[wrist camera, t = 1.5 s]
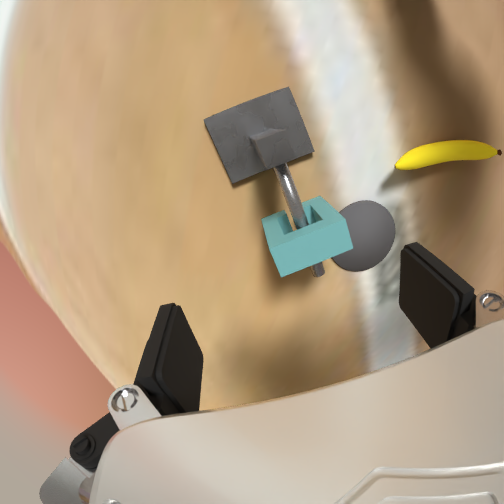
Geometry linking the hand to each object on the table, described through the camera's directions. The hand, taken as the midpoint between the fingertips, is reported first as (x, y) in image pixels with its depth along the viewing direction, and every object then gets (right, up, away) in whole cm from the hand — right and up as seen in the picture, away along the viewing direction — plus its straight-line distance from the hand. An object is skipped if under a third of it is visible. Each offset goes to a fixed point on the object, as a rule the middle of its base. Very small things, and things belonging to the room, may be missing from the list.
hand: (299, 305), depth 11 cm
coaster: (+13, +4, +25) cm, 28 cm away
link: (+3, +6, +21) cm, 22 cm away
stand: (+1, +11, +21) cm, 24 cm away
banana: (+23, +16, +21) cm, 35 cm away
